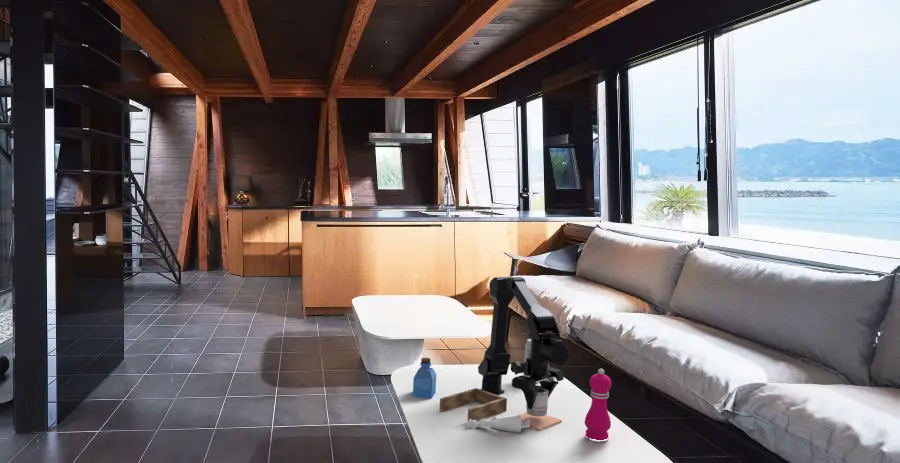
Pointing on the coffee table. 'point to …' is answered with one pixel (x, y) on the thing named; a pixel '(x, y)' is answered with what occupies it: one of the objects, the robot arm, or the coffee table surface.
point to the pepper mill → (598, 407)
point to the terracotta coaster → (539, 421)
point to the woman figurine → (501, 424)
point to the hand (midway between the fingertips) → (536, 406)
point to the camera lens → (539, 403)
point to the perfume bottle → (424, 380)
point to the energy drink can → (527, 352)
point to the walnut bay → (488, 400)
